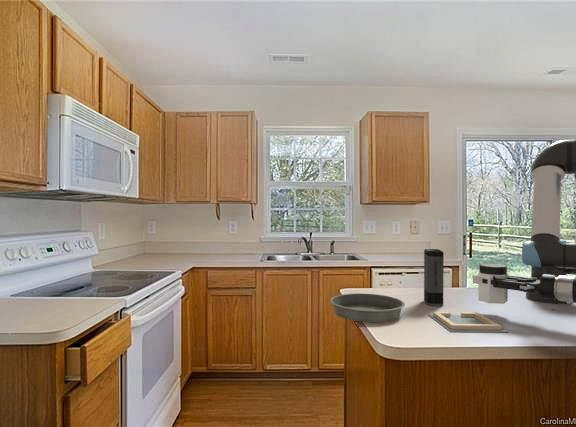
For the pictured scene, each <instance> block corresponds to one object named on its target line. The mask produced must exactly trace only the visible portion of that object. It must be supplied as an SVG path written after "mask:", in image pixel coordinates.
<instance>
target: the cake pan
mask: <svg viewBox="0 0 576 427" xmlns="http://www.w3.org/2000/svg"><path fill="white" fill-rule="evenodd" d="M329 301H330V303H331V304H332V306H333V310H334V313H335V315H336V316H337V317H340V318H341V319H346V320H348V321H354V322H355V321H356V322H363V323H384V322H385V321H386V322H391V320H392V321H395V320H397V319H399V318H400V315H401V312H402V308H405V306H406V303H405V302H404V301H403V300H401V299H399V298H397V297H393V296H390V295H389V296H388V295H383V294H377V293H376V294H375V293H344V294H339V295H334V296H333V297H331V298H330V300H329Z"/></svg>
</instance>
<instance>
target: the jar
mask: <svg viewBox="0 0 576 427" xmlns="http://www.w3.org/2000/svg"><path fill="white" fill-rule="evenodd" d="M478 270H479V272H478V273H477V275H478V276H481V284H478V301H481V302H484V303H487V304H499V305H503V304H506V303H507V302H508V301H509V299H508V298H509V297H508V296H509V295H508V291H509V289H503V288H494V287H493V285H492V284H491V280H493V276H495V278H497V279H507V277H508V275H509V274H508V266H507V265H506V264H499V263H480V264H479V267H478ZM482 279H487V280H488V281H487V282H488V284H486V283H482Z"/></svg>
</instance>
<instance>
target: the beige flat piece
mask: <svg viewBox="0 0 576 427" xmlns="http://www.w3.org/2000/svg"><path fill="white" fill-rule="evenodd" d="M428 316H429V317H430V318H431V319H432V320H434V321H435V322H436V323H438V324H439V325H440V326H442V327H443V328H444V329H446V330H449V331H448V332H450V333H496V334H497V333H498V334H499V333H505V334H506V333H509V332H508V331H507V330H506V329H504V328H502V325H500V324H499V323H497V322H495V321H493V320H492V319H489V318H487V317H485V316H484V315H482V314H480V313H478V312H473V311H472V312H469V311H468V312H466V311H465V312H463V311H462V312H460V314H451V312H450V311H448V312H447V311H444V312H443V311H433V314H428Z"/></svg>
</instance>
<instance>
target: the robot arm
mask: <svg viewBox="0 0 576 427" xmlns="http://www.w3.org/2000/svg"><path fill="white" fill-rule="evenodd" d="M530 170H531V172H530V177H531V179H532V181H533V196H532V211H531V213H532V214H531V227H530V228H531V229H530V230H531V231H530V240H528V241H523V242H522V246H521V260H522V263H523V265H526V266H530V267H531V270H530V275H531V276H530V277H527V276H519V275H509V274H508V277H507V279H497V278H495V276H493V280H491V284H492V285H493V287H494V288H503V289H508V290H510V291H511V290H512V291H519V292H523V293H525V297H526V298H527V299H528V300H533V301H536V302H543V303H548V304H549V303H550V304H568V305H570V304H572V303H573V304H576V238H575V239H574V242H568V241H567V240H564V239H561V209H562V208H561V207H562V206H561V204H562V202H561V201H562V199H561V198H562V181H563V180H564V179H565V176H566V175H574V176H573V178H574V180H576V138H575V139H573V138H572V139H562V140H559V141H555V142H554V143H551V144H549V145H547V147H545V148H544V149H542V151H541V152H540V153H539V154H538V155H537V157H536V158H535V160H534V162H533V164H532V167H531V169H530ZM574 275H575V276H574ZM487 281H488V280H487V279H482V283H486V284H488V282H487ZM472 284H481V276H478V274H477V275H476V274H472Z"/></svg>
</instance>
